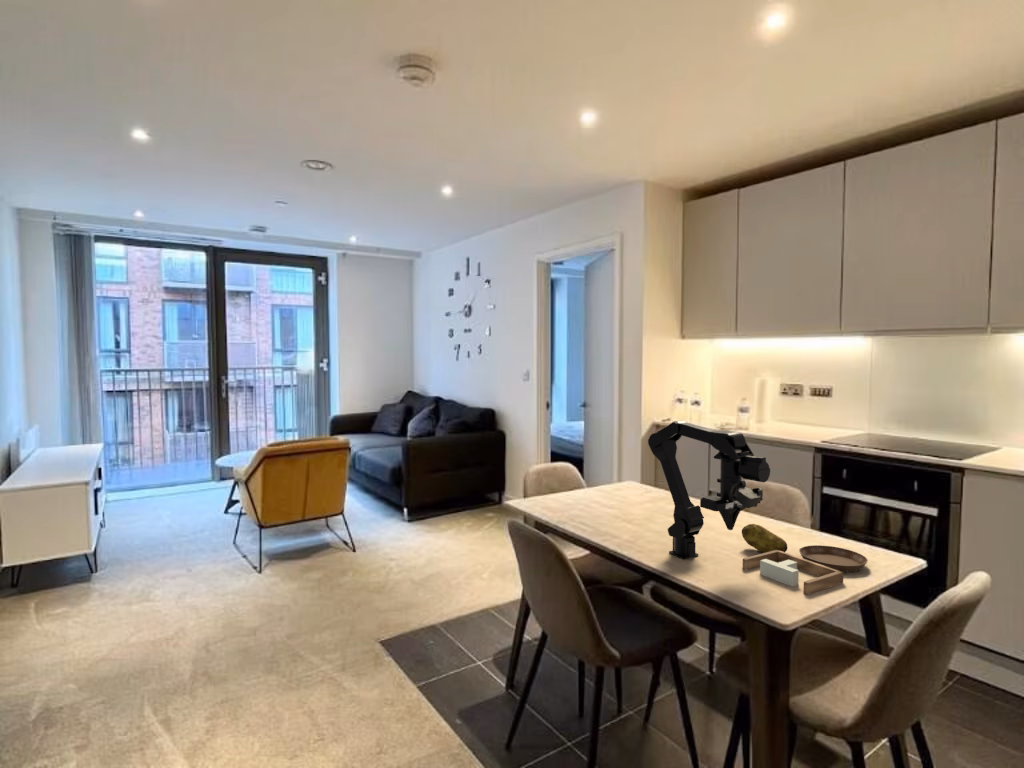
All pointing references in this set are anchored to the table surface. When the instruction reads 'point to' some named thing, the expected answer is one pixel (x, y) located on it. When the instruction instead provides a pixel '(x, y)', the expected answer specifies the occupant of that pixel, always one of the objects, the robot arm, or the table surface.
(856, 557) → the plant saucer
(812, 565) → the corral
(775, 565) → the t block
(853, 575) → the table surface
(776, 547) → the potato
